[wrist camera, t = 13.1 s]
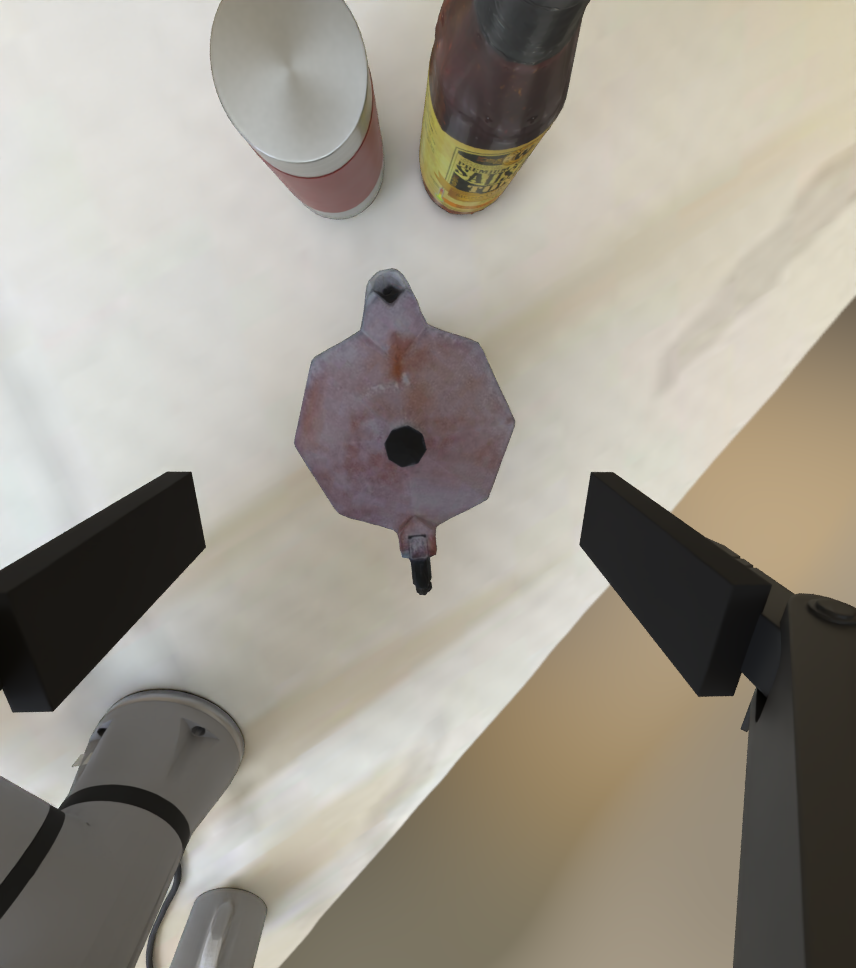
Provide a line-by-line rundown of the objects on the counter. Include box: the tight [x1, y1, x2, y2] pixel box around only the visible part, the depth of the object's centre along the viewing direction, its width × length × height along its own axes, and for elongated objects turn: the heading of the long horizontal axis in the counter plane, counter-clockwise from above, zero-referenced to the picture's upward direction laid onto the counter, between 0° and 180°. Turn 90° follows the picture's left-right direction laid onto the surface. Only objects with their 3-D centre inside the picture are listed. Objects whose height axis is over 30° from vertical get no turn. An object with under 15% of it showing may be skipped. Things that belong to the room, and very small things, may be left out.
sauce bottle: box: [419, 0, 590, 214], centre depth 20 cm, size 7×6×20 cm
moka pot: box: [294, 268, 515, 595], centre depth 25 cm, size 10×15×20 cm, turn 10°
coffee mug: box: [170, 888, 267, 968], centre depth 53 cm, size 13×10×10 cm
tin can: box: [210, 0, 384, 219], centre depth 23 cm, size 7×7×11 cm
